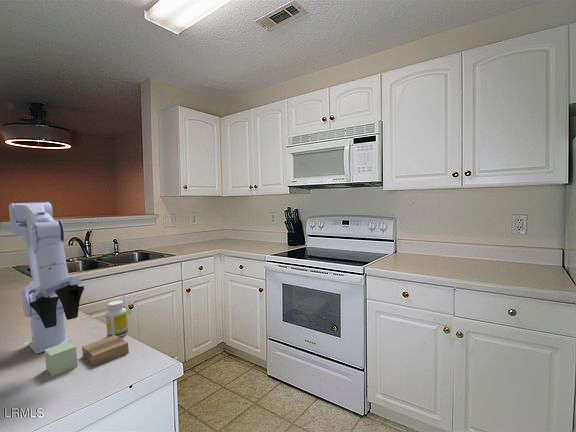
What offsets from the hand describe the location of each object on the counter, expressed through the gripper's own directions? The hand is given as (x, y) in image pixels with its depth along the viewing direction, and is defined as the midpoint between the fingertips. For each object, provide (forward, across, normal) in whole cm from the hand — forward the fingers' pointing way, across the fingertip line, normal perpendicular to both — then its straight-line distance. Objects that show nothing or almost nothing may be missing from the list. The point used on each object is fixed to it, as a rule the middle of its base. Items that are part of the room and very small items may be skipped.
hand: (61, 323), depth 72 cm
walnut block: (+11, 0, +10) cm, 15 cm away
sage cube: (+10, -5, +2) cm, 11 cm away
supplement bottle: (+7, -7, +20) cm, 22 cm away
